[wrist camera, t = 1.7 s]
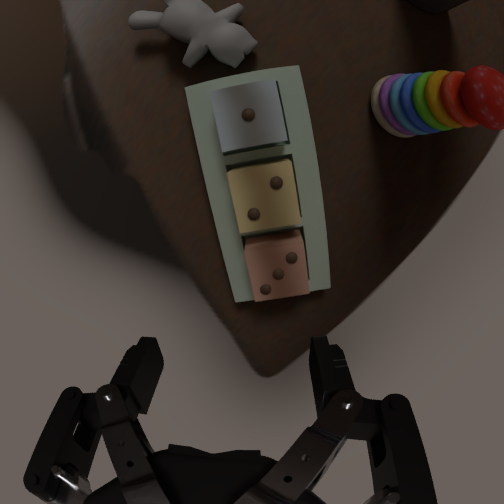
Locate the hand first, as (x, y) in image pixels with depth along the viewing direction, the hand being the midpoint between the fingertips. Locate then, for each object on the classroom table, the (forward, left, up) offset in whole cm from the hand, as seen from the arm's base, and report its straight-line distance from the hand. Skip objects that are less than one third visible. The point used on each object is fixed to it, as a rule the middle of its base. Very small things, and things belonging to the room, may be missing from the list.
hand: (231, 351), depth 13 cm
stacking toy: (-20, -12, -22) cm, 32 cm away
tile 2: (-2, -4, -19) cm, 20 cm away
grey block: (-2, -12, -19) cm, 23 cm away
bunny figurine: (+1, -25, -22) cm, 33 cm away
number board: (-2, -4, -22) cm, 22 cm away
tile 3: (-2, +4, -19) cm, 20 cm away
